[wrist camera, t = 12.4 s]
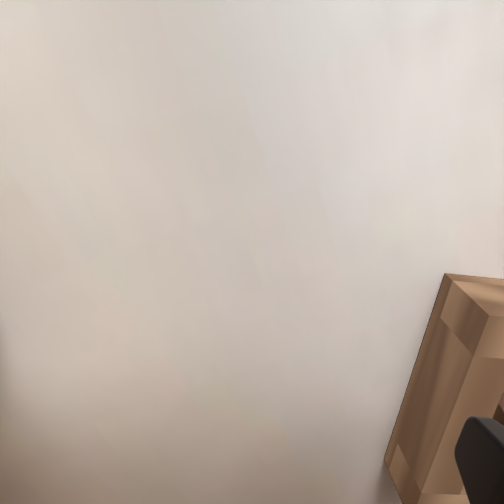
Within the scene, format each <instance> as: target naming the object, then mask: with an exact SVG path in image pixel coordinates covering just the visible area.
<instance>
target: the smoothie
mask: <svg viewBox="0 0 504 504" xmlns="http://www.w3.org/2000/svg"><path fill="white" fill-rule="evenodd" d="M499 405H500V406H501V408H502V410H503V411H504V392H503V394H502V396H501V399H500V401H499Z"/></svg>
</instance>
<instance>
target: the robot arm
mask: <svg viewBox="0 0 504 504" xmlns="http://www.w3.org/2000/svg"><path fill="white" fill-rule="evenodd" d="M454 456H455V461H456V464H457V467H458V470H459V473H460V476H461V479H462V482H463V485H464V488H465V491H466V494H467V497H468V500H469V503H470V504H504V426H503V425H501V424H500V423H498V422H497V421H495V420H494V419H492V418H490V417H483V416H470V417H468V418H467V419H466V420H465V422H464V425H463V427H462V430H461V432H460V435H459V437H458V440H457V442H456V445H455V449H454Z"/></svg>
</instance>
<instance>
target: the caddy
mask: <svg viewBox="0 0 504 504" xmlns="http://www.w3.org/2000/svg"><path fill="white" fill-rule="evenodd" d="M503 392H504V279H495V278H486V277H476V276H466V275H457V274H447V273H445V275H444V278H443V281H442V284H441V287H440V290H439V293H438V296H437V299H436V302H435V305H434V308H433V311H432V314H431V317H430V320H429V323H428V326H427V329H426V333H425V336H424V339H423V342H422V345H421V348H420V351H419V354H418V357H417V360H416V363H415V366H414V369H413V372H412V375H411V378H410V381H409V384H408V387H407V390H406V393H405V396H404V399H403V403H402V406H401V409H400V412H399V415H398V418H397V421H396V424H395V427H394V430H393V433H392V436H391V439H390V442H389V445H388V448H387V451H386V454H385V457H384V460H385V463H386V465H387V467H388V470H389V472H390V475H391V477H392V479H393V482H394V484H395V487H396V489H397V491H398V494H399V496H400V499H401V501H402V503H403V504H470V503H469V500H468V497H467V494H466V491H465V488H464V485H463V482H462V479H461V476H460V473H459V470H458V467H457V464H456V461H455V456H454V449H455V445H456V442H457V440H458V437H459V435H460V432H461V430H462V427H463V425H464V422H465V420H466V419H467V418H468V417H470V416H483V417H490V418H492V419H494V420H495V421H497V422H498V423H500V424H501V425H503V426H504V411H503V410H502V408H501V406H500V405H499V401H500V399H501V396H502V394H503Z"/></svg>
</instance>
